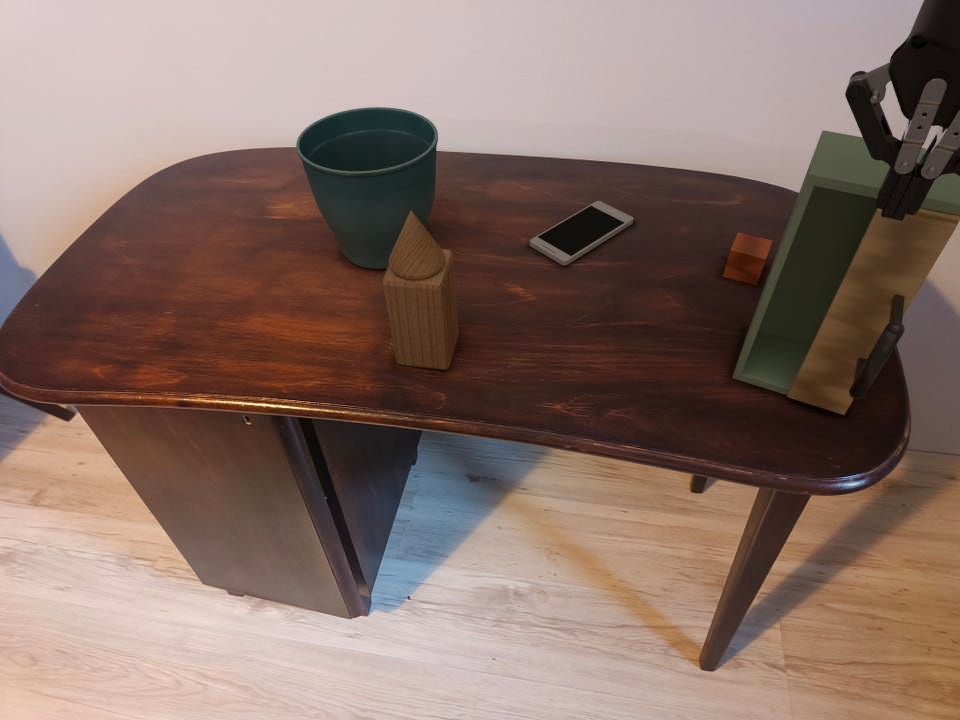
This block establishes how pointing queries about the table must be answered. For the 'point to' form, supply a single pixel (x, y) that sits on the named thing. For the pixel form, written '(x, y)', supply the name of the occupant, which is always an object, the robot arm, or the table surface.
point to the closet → (822, 254)
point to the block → (747, 258)
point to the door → (869, 310)
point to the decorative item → (421, 299)
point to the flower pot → (370, 176)
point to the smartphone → (581, 232)
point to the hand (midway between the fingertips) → (892, 213)
